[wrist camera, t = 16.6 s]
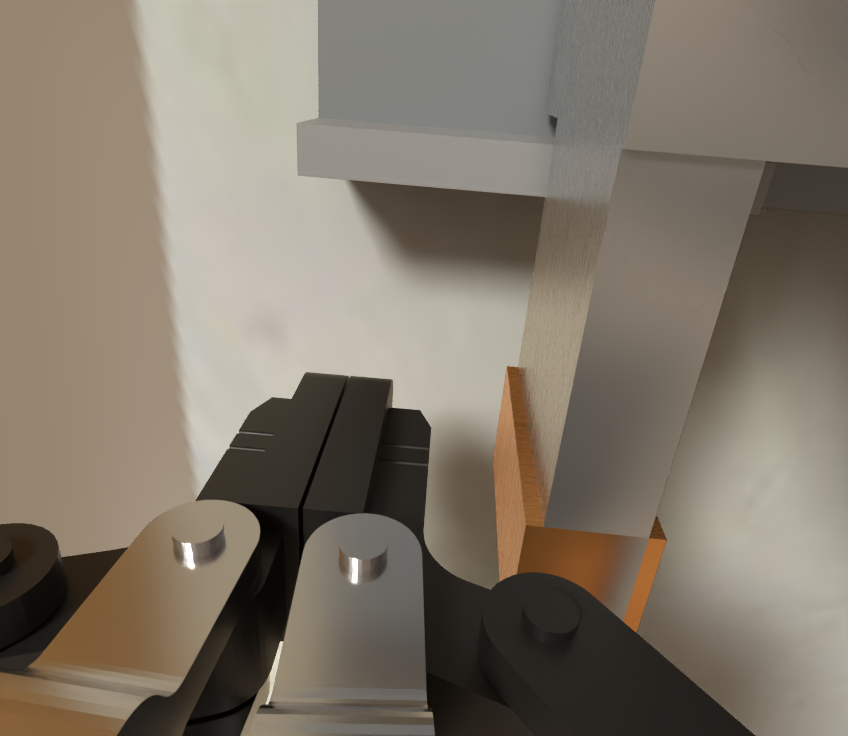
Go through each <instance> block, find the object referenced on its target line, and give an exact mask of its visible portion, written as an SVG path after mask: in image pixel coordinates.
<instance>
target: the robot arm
mask: <svg viewBox="0 0 848 736" xmlns="http://www.w3.org/2000/svg"><path fill="white" fill-rule="evenodd" d="M392 397H393V380H391V379H379V378H368V377H356V376H351V377H350V378H349V376H344V375H332V374H321V373H309V372H306V373H305V374H304V376H303V378H302V380H301V382H300V384H299V386H298V388H297V390H296V392H295V394H294V395H293V397H292V399H284V398H273V397H272V398H271V399H269V400H268V401H266V402H265V403H263V404H262V405H260V406H259V407H257V408H256V409H254V410H253V411H251V412H250V413H249V415H248V417H247V418H246V420H245V422H244V423H243V425H242V426H241V428H240V430H239V434H236V436H235V438H234V439H233V441H232V443H231V444H230V448H229V450H228V449H227V451H226V452H225V454H224V455H223V457H222V459H221V460H220V462H219V464H218V465H217V467H216V468H215V470H214V472H213V473H212V475H211V476H210V478H209V480H208V481H207V483H206V485H205V486H204V488H203V489H202V491H201V493H200V494H199V496H198V497H197V499H196V501H195V502H190V503H186V504H183V505H180V506H177V507H174V508H172V509H170V510H168V511H166V512H164V513H162V514H161V515H159V516H157V517H156V518H155V519H153V520H152V521H151V522H150V523H149V524H148V525H147V526H146V527H145V528H144V529H143V530H142V531H141V532H140V534H139V535H138V536H137V537H136V539H135V540H134V541H133V542H132V543H131V545H130V546H129V547H127V548H121V549H116V550H110V551H103V552H96V553H89V554H82V555H76V556H68V557H61V554H60V550H59V546H58V542H57V540H56V538H55V536H54V535H53V534H52V533H51V532H50V531H48V530H46V529H44V528H43V527H39V526H36V525H32V524H24V523H19V524H18V523H12V524H1V525H0V736H755V735H754V734H753V733H752V732H750V731H749V730H748V729H747V728H746V727H745V726H743V725H742V724H741V723H740V722H739V721H738V720H737V719H735V718H734V717H733V716H732V715H731V714H730V713H728V712H727V711H726V710H725V709H724V708H723V707H721V706H720V705H719V704H718V703H717V702H716V701H715V700H713V699H712V698H711V697H710V696H709V695H708V694H706V693H705V692H704V691H703V690H702V689H701V688H699V687H698V686H697V685H696V684H695V683H694V682H693V681H691V680H690V679H689V678H688V677H687V676H686V675H684V674H683V673H682V672H681V671H680V670H679V669H677V668H676V667H675V666H674V665H673V664H672V663H671V662H669V661H668V660H667V659H666V658H665V657H664V656H662V655H661V654H660V653H659V652H658V651H657V650H655V649H654V648H653V647H652V646H651V645H650V644H649V643H647V642H646V641H645V640H644V639H643V638H642V637H640V636H639V635H638V634H637V633H636V632H635V631H633V630H632V629H631V628H630V627H629V626H628V625H627V624H625V623H624V622H623V621H622V620H621V619H620V618H618V617H617V616H616V615H615V614H614V613H613V612H611V611H610V610H609V609H608V608H607V607H606V606H605V605H603V604H602V603H601V602H600V601H599V600H598V599H596V598H595V597H594V596H593V595H592V594H590V593H589V592H588V591H587V590H585V589H584V588H582V587H581V586H579V585H577V584H576V583H574V582H572V581H569V580H567V579H565V578H562V577H559V576H556V575H552V574H546V573H536V572H529V573H520V574H516V575H512V576H510V577H508V578H505V579H503V580H502V581H500V582H499V583H497V584H496V585H495V586H494V587H493V588H492V589H491V590H489V589H486V588H484V587H481V586H478V585H475V584H473V583H470V582H467V581H465V580H463V579H460V578H458V577H456V576H455V575H453V574H451V573H450V572H448V571H447V570H446V569H444V568H443V567H442V566H440V565H439V563H438V562H437V561H436V560H435V559H434V558H433V557H432V555H431V554H430V552H429V551H428V549H427V546H426V544H425V540H424V531H423V529H424V516H425V503H426V489H427V476H428V462H429V448H430V435H431V427H430V425H429V424H428V422H427V421H426V419H425V417H424V416H423V414H422V413H421V411H420V410H411V409H399V408H392ZM280 641H284V642H283V646H282V651H281V655H280V660H279V665H278V669H277V674H276V678H275V683H274V687H273V692H272V695H271V699H270V701H269V704H268V705H265V704H266V701H267V698H268V695H269V690H270V675H269V674H270V671H271V669H272V665H273V662H274V659H275V656H276V653H277V649H278V646H279V643H280Z"/></svg>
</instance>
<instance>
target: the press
mask: <svg viewBox="0 0 848 736" xmlns="http://www.w3.org/2000/svg"><path fill="white" fill-rule="evenodd" d="M561 3H562V0H318V67H319V118H316V119H312V120H308V121H304V122H300V123H297V157H298V176H309V177H320V178H332V179H343V180H355V181H366V182H378V183H389V184H401V185H412V186H424V187H435V188H447V189H458V190H470V191H481V192H493V193H504V194H516V195H527V196H539V197H545V195H546V189H547V183H548V176H549V170H550V164H551V157H552V151H553V145H554V138H555V132H556V126H557V120H558V118H556V117H554V116H551V115H549V114H547V113H545V110H546V103H547V97H548V90H549V83H550V77H551V70H552V63H553V56H554V50H555V43H556V36H557V30H558V23H559V16H560V10H561ZM762 208H770V209H782V210H793V211H805V212H817V213H828V214H840V215H848V168H844V167H832V166H820V165H808V164H796V163H784V162H772V161H766V163H765V167H764V170H763V173H762V176H761V179H760V183H759V186H758V189H757V192H756V196H755V199H754V202H753V205H752V208H751V212H750V215H757V216H760V213H761V210H762Z"/></svg>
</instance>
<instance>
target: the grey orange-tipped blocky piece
mask: <svg viewBox="0 0 848 736" xmlns="http://www.w3.org/2000/svg"><path fill="white" fill-rule="evenodd" d="M545 113H547V114H549V115H551V116H554V117H556V118H558V120H557V126H556V132H555V138H554V145H553V151H552V157H551V164H550V170H549V176H548V183H547V189H546V195H545V202H544V208H543V214H542V221H541V227H540V233H539V239H538V246H537V252H536V258H535V265H534V271H533V277H532V284H531V290H530V296H529V303H528V309H527V315H526V322H525V328H524V334H523V340H522V347H521V353H520V359H519V366H518V367H509V366H507V370H506V376H505V383H504V390H503V396H502V403H501V410H500V417H499V423H498V430H497V437H496V443H495V450H494V457H493V466H494V485H495V503H496V522H497V541H498V560H499V579H500V581H502V580H503V579H505V578H508V577H510V576H512V575H516V574H520V573H529V572H536V573H546V574H552V575H556V576H559V577H562V578H565V579H567V580H569V581H572V582H574V583H576V584H577V585H579V586H581V587H582V588H584V589H585V590H587V591H588V592H589V593H590V594H592V595H593V596H594V597H595V598H596V599H598V600H599V601H600V602H601V603H602V604H603V605H605V606H606V607H607V608H608V609H609V610H610V611H611V612H613V613H614V614H615V615H616V616H617V617H618V618H620V619H621V620H622V621H623V622H624V623H625V624H627V625H628V626H629V627H630V628H631V629H632V630H633V631H635V632H637V629H638V626H639V623H640V620H641V617H642V614H643V611H644V608H645V605H646V602H647V599H648V596H649V593H650V590H651V587H652V583H653V580H654V577H655V574H656V571H657V568H658V565H659V562H660V559H661V556H662V553H663V550H664V547H665V544H666V541H667V539H666V537H665V535H664V532H663V530H662V528H661V525H660V523H659V520H658V518H657V516H656V514H657V511H658V508H659V504H660V501H661V498H662V495H663V492H664V488H665V485H666V482H667V479H668V475H669V472H670V469H671V466H672V463H673V459H674V456H675V453H676V450H677V447H678V443H679V440H680V437H681V434H682V430H683V427H684V424H685V421H686V418H687V414H688V411H689V408H690V405H691V401H692V398H693V395H694V392H695V389H696V385H697V382H698V379H699V376H700V372H701V369H702V366H703V363H704V360H705V356H706V353H707V350H708V347H709V344H710V340H711V337H712V334H713V331H714V327H715V324H716V321H717V318H718V315H719V311H720V308H721V305H722V302H723V298H724V295H725V292H726V289H727V286H728V282H729V279H730V276H731V273H732V270H733V266H734V263H735V260H736V257H737V253H738V250H739V247H740V244H741V241H742V237H743V234H744V231H745V228H746V224H747V221H748V218H749V215H750V212H751V208H752V205H753V202H754V199H755V196H756V192H757V189H758V186H759V183H760V179H761V176H762V173H763V170H764V167H765V163H766V161H772V162H784V163H796V164H808V165H820V166H832V167H844V168H848V0H562V3H561V10H560V16H559V23H558V30H557V36H556V43H555V50H554V56H553V63H552V70H551V77H550V83H549V90H548V97H547V103H546V110H545Z"/></svg>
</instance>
